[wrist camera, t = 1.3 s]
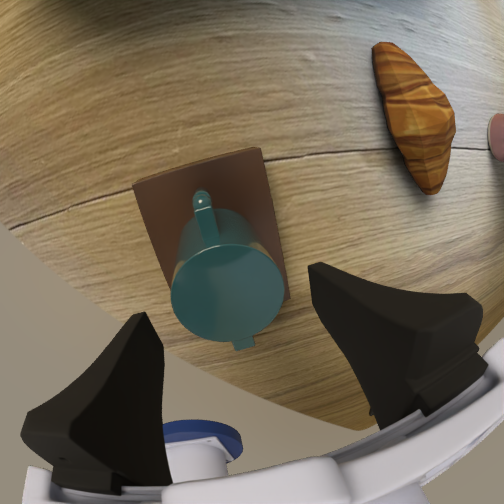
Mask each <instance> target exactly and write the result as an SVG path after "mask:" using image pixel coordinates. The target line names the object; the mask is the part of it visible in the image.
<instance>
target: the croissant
mask: <svg viewBox="0 0 504 504" xmlns="http://www.w3.org/2000/svg"><path fill="white" fill-rule="evenodd" d="M371 49H372V60H373V68H374V73H375V78H376V83H377V87H378V89H379V91H380V93H381V95H382V99H383V107H384V112H385V116H386V121H387V126H388V129H389V131H390V133H391V135H392V137H393V139H394V141H395V143H396V145H397V146H398V148H399V149H400V151H401V152H402V154H403V158H404V162H405V165H406V167H407V169H408V170H409V172H410V174H411V176H412V178H413V179H414V181H415V182H416V184H417V185H418V187H419V188H420V189H421V191H422V192H423V193H425V194H426V195H434V194H437V193H438V192H439V191H440V189H441V187H442V185H443V182H444V180H445V177H446V174H447V169H448V164H449V159H450V152H451V143H452V140H453V138H454V135H455V133H456V127H455V116H454V111H453V109H452V107H451V105H450V103H449V101H448V99H447V97H446V95H445V94H444V93H443V92H442V91H441V90H440V89H439V88H437V87H436V86H435V85H434V84H433V83H432V81H431V80H430V79H429V77H428V76H427V75H426V74H425V72H424V71H423V70H422V69H421V68H420V67H419V66H418V65H417V64H416V62H415V61H414V60H413V59H412V58H411V57H410V56H409V55H408V54H406V53H405V52H404V51H403V50H401V49H400V48H399V47H398V46H396V45H395V44H394V43H391V42H379V43H378V44H376V45H375V46H374V47H372V48H371Z"/></svg>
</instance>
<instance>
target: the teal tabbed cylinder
mask: <svg viewBox="0 0 504 504" xmlns="http://www.w3.org/2000/svg"><path fill="white" fill-rule="evenodd" d="M192 206H193V209H194V214H195V216H194V217H193V218H192V219H191V220H190V221H188V223H187V224H186V225H185V226H184V228H183V229H182V231H181V234H180V236H179V240H178V246H177V252H176V258H175V265H174V271H173V278H172V286H171V304H172V308H173V311H174V313H175V315H176V317H177V318H178V320H179V321H180V322H181V324H182V325H183V326H184V327H185V328H186V329H188V330H189V331H190V332H192V333H193V334H195V335H197V336H199V337H201V338H204V339H207V340H212V341H218V342H230V341H232V344H233V346H234V349H235V351H239V350H242V349H246V348H249V347H253V346H255V342H254V338H253V335H255V334H256V333H258V332H260V331H261V330H263V329H264V328H265V327H267V326H268V325H269V324H270V323H271V322H272V321H273V319H274V318H275V317H276V315H277V314H278V312H279V310H280V308H281V306H282V303H283V299H284V292H285V287H284V280H283V276H282V274H281V272H280V270H279V268H278V266H277V265H276V263H275V261H274V260H273V258H272V256H271V255H270V253H269V251H268V250H267V248H266V247H265V245H264V243H263V242H262V240H261V238H260V237H259V235H258V233H257V232H256V230H255V229H254V227H253V226H252V224H251V223H250V222H249V221H248V220H247V219H246V218H245V217H244V216H242V215H241V214H239V213H237V212H235V211H232V210H228V209H213V205H212V200H211V195H210V192H209V190H208V189H207V188H205V187H198V188H197V189H196V190H195V191H194V193H193V201H192Z"/></svg>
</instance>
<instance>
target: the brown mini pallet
mask: <svg viewBox="0 0 504 504" xmlns="http://www.w3.org/2000/svg"><path fill="white" fill-rule="evenodd" d="M132 187H133V190H134V193H135V196H136V200H137V203H138V206H139V209H140V212H141V214H142V217H143V220H144V223H145V226H146V229H147V232H148V234H149V237H150V240H151V242H152V245H153V248H154V250H155V253H156V256H157V258H158V261H159V263H160V266H161V268H162V271H163V273H164V276H165V278H166V281H167V283H168V286H169V288H170V290H171V286H172V278H173V271H174V265H175V258H176V252H177V246H178V240H179V236H180V234H181V231H182V229H183V228H184V226H185V225H186V224H187V223H188V221H190V220H191V219H192V218H193V217H194V216H195V214H194V209H193V206H192V201H193V193H194V191H195V190H196V189H197V188H198V187H205V188H207V189H208V190H209V192H210V195H211V200H212V205H213V209H228V210H232V211H235V212H237V213H239V214H241V215H242V216H244V217H245V218H246V219H247V220H248V221H249V222H250V223H251V224H252V226H253V227H254V229H255V230H256V232H257V233H258V235H259V237H260V238H261V240H262V242H263V243H264V245H265V247H266V248H267V250H268V251H269V253H270V255H271V256H272V258H273V260H274V261H275V263H276V265H277V266H278V268H279V270H280V272H281V274H282V276H283V280H284V287H285V292H284V299H283V301H286V300H289V299H291V298H290V292H289V286H288V281H287V275H286V270H285V265H284V259H283V254H282V249H281V244H280V238H279V233H278V228H277V223H276V218H275V213H274V208H273V203H272V199H271V194H270V189H269V184H268V180H267V175H266V170H265V166H264V161H263V156H262V152H261V148H257V147H251V148H246V149H242V150H238V151H234V152H230V153H226V154H222V155H218V156H214V157H210V158H207V159H203V160H199V161H196V162H192V163H189V164H186V165H182V166H179V167H176V168H172V169H169V170H166V171H163V172H160V173H157V174H154V175H151V176H148V177H145V178H142V179H139V180H138V181H136V182H135V183H133V184H132Z"/></svg>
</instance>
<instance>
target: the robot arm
mask: <svg viewBox="0 0 504 504" xmlns="http://www.w3.org/2000/svg"><path fill="white" fill-rule="evenodd" d="M308 274H309V281H310V289H311V297H312V304H313V306H314V308H315V310H316V312H317V314H318V316H319V318H320V320H321V322H322V323H323V325H324V326H325V328H326V329H327V331H328V332H329V334H330V335H331V336H332V338H333V339H334V341H335V342H336V344H337V345H338V347H339V348H340V349H341V351H342V352H343V354H344V355H345V357H346V358H347V360H348V362H349V363H350V365H351V367H352V369H353V371H354V373H355V375H356V377H357V379H358V381H359V383H360V385H361V387H362V389H363V391H364V393H365V395H366V397H367V400H368V402H369V404H370V407H371V409H372V411H373V414H374V416H375V418H376V421H377V424H378V426H379V428H380V431H378V432H376V433H374V434H372V435H370V436H368V437H366V438H363V439H361V440H359V441H357V442H355V443H352V444H350V445H347V446H345V447H343V448H340V449H338V450H335V451H332V452H330V453H327V454H324V455H322V456H317V457H307V458H303V459H299V460H294V461H290V462H286V463H282V464H279V465H275V466H271V467H268V468H263V469H259V470H254V471H250V472H245V473H240V474H235V475H229V476H228V471H227V466H226V462H229V461H233V460H234V458H233V456H232V455H231V454H230V453H229V451H228V450H227V449H226V448H225V447H224V445H223V444H222V443H221V442H220V440H219V439H218V438H217V437H215V436H212V437H206V438H200V439H194V440H187V441H179V442H171V443H165V441H164V433H163V422H162V395H163V381H164V366H165V363H164V347H163V344H162V342H161V340H160V338H159V337H158V335H157V333H156V331H155V329H154V327H153V325H152V324H151V322H150V320H149V318H148V316H147V314H146V312H141V313H137V314H133V315H132V316H131V317H130V318H129V319H128V321H127V322H126V323H125V324H124V326H123V327H122V328H121V329H120V331H119V332H118V333H117V334H116V336H115V337H114V338H113V340H112V341H111V342H110V344H109V345H108V346H107V347H106V348H105V349H104V351H103V352H102V353H101V354H100V355H99V357H98V358H97V359H96V360H95V361H94V363H92V364H91V366H90V367H89V368H88V369H87V370H86V371H85V372H84V373H83V374H82V375H81V376H79V377H78V378H77V379H76V380H75V381H74V382H72V383H71V384H70V385H69V386H68V387H67V388H65V389H64V390H63V391H61V392H60V393H59V394H57V395H56V396H54V397H53V398H52V399H50V400H48V401H47V402H45V403H43V404H42V405H40V406H38V407H36V408H35V409H33V410H31V411H29V412H28V413H27V416H26V419H25V421H24V425H23V427H22V431H21V438H22V440H23V442H24V443H25V444H26V445H27V446H28V447H29V448H30V449H31V450H33V451H34V452H35V453H36V454H38V455H39V456H40V457H42V458H43V459H44V460H46V461H47V462H48V463H50V464H51V465H53V472H52V471H49V470H47V469H44V468H39V467H35V466H31V465H30V466H29V467H28V471H27V476H26V481H25V487H24V492H23V499H22V504H430V503H429V501H428V499H427V497H426V495H425V494H424V492H423V490H422V488H421V487H422V486H424V485H425V484H427V483H428V482H430V481H431V480H433V479H434V478H436V477H437V476H439V475H440V474H441V473H443V472H444V471H445V470H447V469H448V468H450V467H451V466H452V465H453V464H455V463H456V462H457V461H459V460H460V459H461V458H462V457H464V456H465V455H466V454H467V453H468V452H470V451H471V450H472V449H473V448H474V447H475V446H477V445H478V444H479V443H480V442H481V441H482V440H483V439H484V438H485V437H487V436H488V435H489V434H490V433H491V432H492V431H493V430H494V429H495V428H496V427H497V426H498V425H499V424H500V423H501V422H502V421H503V420H504V338H501V339H499V340H498V341H497V342H496V343H495V344H494V345H493V346H492V347H491V348H489V349H488V350H487V351H486V352H485V354H484V355H483V356H482V357H481V356H480V355H479V354H478V353H477V352H478V351H479V347H478V346H477V345H476V344H475V343H474V341H475V339H476V336H477V333H478V331H479V328H480V325H481V322H482V318H483V308H482V305H481V304H479V303H478V302H477V301H476V300H474V299H473V298H472V297H471V296H469V295H468V294H467V293H454V294H435V293H421V292H413V291H406V290H401V289H396V288H391V287H387V286H383V285H380V284H376V283H373V282H370V281H367V280H364V279H362V278H359V277H356V276H354V275H351V274H349V273H347V272H344V271H342V270H339V269H337V268H335V267H332V266H330V265H328V264H325V263H323V262H318V263H315V264H312V265H309V266H308Z"/></svg>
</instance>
